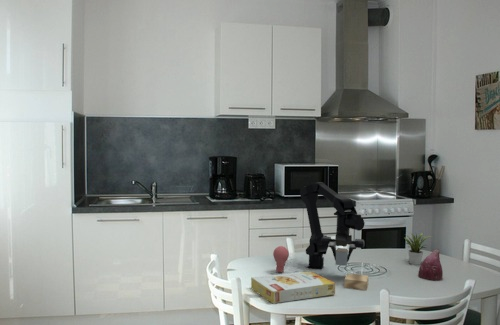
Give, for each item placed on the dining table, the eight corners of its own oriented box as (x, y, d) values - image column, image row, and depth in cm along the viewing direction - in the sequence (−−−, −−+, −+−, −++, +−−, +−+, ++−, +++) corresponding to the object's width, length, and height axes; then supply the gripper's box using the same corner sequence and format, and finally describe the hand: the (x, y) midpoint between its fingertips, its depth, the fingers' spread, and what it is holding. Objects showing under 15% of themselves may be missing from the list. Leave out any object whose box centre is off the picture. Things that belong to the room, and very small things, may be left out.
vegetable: (440, 282, 223) (450, 251, 223) (441, 286, 214) (451, 254, 213) (416, 274, 227) (426, 244, 227) (417, 277, 217) (427, 245, 217)
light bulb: (290, 271, 223) (291, 245, 223) (284, 275, 217) (285, 249, 216) (276, 269, 226) (276, 243, 226) (270, 273, 220) (271, 247, 219)
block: (344, 288, 202) (344, 279, 202) (346, 282, 210) (347, 273, 210) (366, 291, 199) (366, 281, 199) (368, 284, 208) (368, 275, 207)
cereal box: (336, 282, 191) (273, 290, 179) (335, 296, 192) (272, 304, 180) (308, 269, 210) (250, 275, 198) (308, 282, 210) (249, 289, 198)
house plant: (429, 260, 250) (431, 229, 249) (435, 268, 236) (436, 235, 235) (401, 258, 253) (402, 227, 252) (404, 265, 239) (406, 233, 238)
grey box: (335, 264, 215) (336, 250, 215) (336, 261, 220) (337, 247, 219) (346, 265, 214) (347, 251, 213) (347, 263, 218) (348, 248, 218)
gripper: (319, 228, 210) (318, 263, 211) (363, 231, 205) (362, 267, 206) (322, 223, 221) (321, 257, 222) (364, 226, 216) (363, 261, 217)
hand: (341, 261), depth 217 cm, fingers closed on grey box, 5 cm apart
